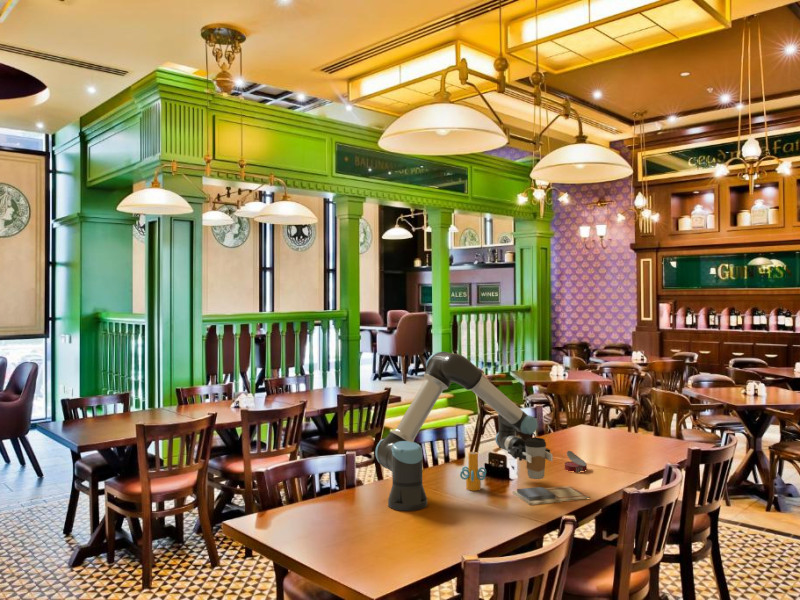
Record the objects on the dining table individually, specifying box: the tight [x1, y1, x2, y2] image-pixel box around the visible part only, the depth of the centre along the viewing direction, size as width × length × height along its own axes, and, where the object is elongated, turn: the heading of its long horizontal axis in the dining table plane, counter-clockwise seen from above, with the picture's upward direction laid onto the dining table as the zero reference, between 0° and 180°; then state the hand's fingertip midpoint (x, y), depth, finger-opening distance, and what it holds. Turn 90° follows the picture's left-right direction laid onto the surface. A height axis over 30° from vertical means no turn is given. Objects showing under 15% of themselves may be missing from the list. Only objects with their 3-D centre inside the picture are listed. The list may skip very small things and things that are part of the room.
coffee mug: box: [516, 431, 537, 441], centre depth 341 cm, size 12×9×10 cm
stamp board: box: [511, 485, 591, 506], centre depth 257 cm, size 26×16×2 cm, turn 104°
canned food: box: [564, 450, 588, 472], centre depth 296 cm, size 11×10×10 cm
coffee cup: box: [525, 437, 547, 480], centre depth 255 cm, size 8×8×15 cm
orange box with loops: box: [459, 451, 487, 492], centre depth 268 cm, size 12×10×15 cm
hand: (541, 458), depth 251 cm, fingers closed on coffee cup, 8 cm apart
